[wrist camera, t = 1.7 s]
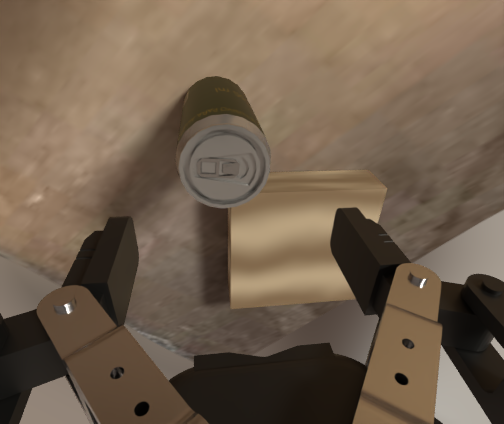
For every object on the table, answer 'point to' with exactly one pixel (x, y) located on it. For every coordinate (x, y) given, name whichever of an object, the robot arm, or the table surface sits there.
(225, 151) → the beer can
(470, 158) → the table surface
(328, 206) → the oak pedestal
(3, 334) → the robot arm
